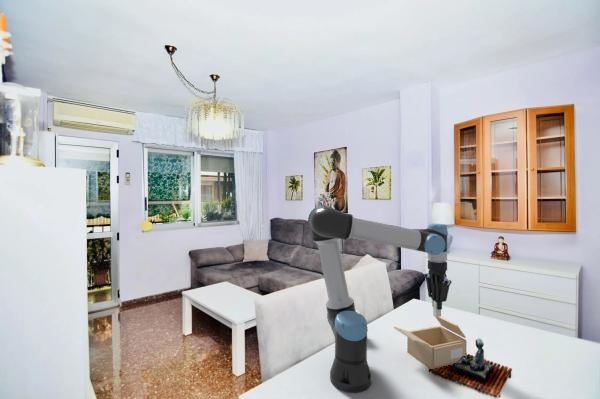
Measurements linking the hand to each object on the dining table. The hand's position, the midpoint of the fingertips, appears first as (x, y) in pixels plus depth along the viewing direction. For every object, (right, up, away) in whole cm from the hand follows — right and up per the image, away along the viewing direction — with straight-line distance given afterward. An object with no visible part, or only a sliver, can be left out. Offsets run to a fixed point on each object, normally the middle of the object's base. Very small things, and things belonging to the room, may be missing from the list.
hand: (437, 316), depth 127 cm
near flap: (-9, -8, -3) cm, 13 cm away
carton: (0, -18, 0) cm, 18 cm away
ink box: (-32, -17, +20) cm, 41 cm away
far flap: (+9, -8, +3) cm, 12 cm away
